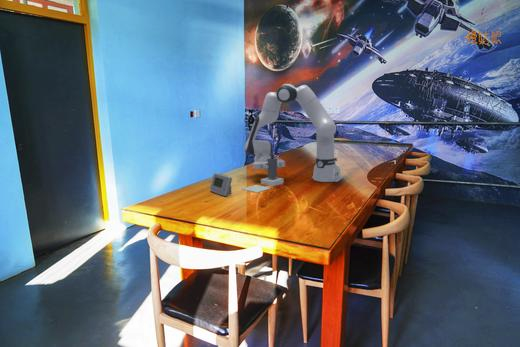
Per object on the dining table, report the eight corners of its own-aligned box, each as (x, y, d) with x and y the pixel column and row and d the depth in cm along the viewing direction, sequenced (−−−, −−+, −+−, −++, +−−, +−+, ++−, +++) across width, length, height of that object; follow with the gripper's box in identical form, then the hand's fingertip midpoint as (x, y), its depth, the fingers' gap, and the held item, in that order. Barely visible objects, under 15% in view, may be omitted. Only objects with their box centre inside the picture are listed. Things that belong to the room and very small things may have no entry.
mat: (255, 185, 216) (255, 184, 216) (270, 188, 208) (270, 187, 208) (241, 189, 207) (241, 188, 207) (257, 192, 199) (257, 192, 199)
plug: (272, 176, 222) (271, 153, 218) (277, 177, 219) (276, 153, 216) (268, 177, 219) (267, 153, 216) (273, 178, 216) (272, 154, 213)
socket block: (271, 180, 227) (271, 176, 226) (283, 183, 220) (283, 178, 220) (260, 183, 219) (260, 179, 219) (273, 186, 213) (273, 181, 212)
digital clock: (208, 191, 204) (208, 173, 202) (223, 189, 209) (222, 171, 206) (219, 198, 190) (219, 178, 188) (235, 195, 195) (234, 176, 192)
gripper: (250, 159, 226) (256, 163, 213) (280, 157, 232) (288, 160, 219) (250, 168, 227) (256, 173, 214) (280, 166, 233) (288, 170, 220)
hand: (272, 166), depth 217 cm, fingers closed on plug, 5 cm apart
